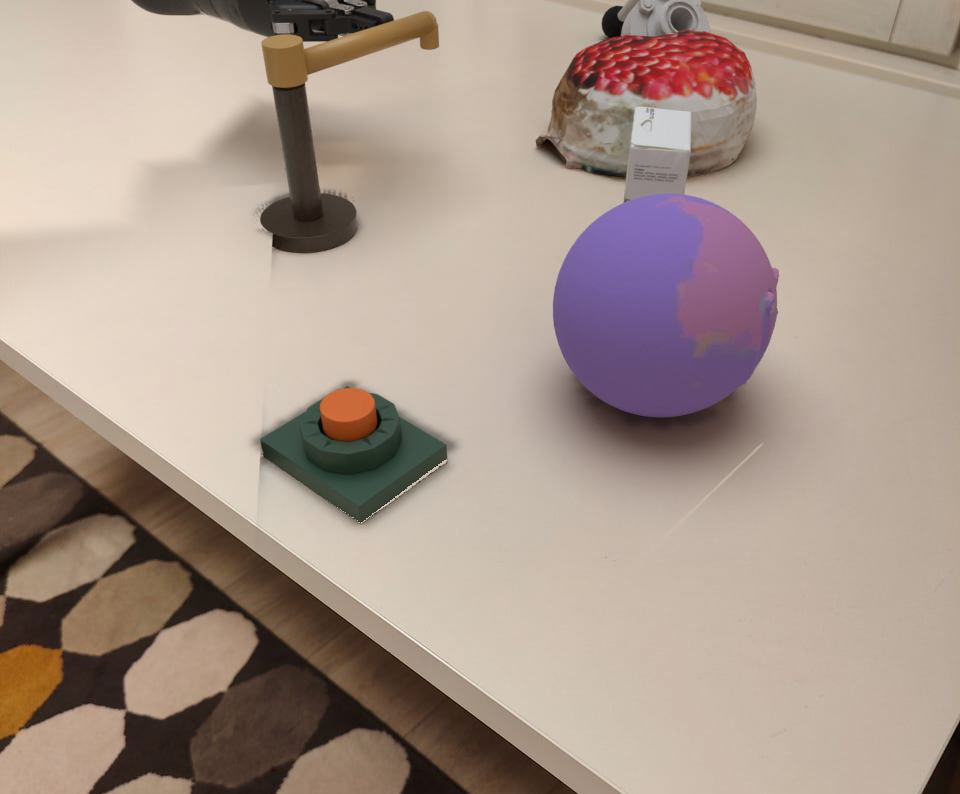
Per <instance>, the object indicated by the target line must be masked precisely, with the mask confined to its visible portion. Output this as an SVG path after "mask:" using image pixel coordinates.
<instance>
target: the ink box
mask: <svg viewBox="0 0 960 794" xmlns="http://www.w3.org/2000/svg"><path fill="white" fill-rule="evenodd" d="M690 153H691V112H690V111H677V110H666V109H658V108H650V107H636V108H635V113H634V120H633V127H632V135H631V142H630V150H629V159H628V167H627V175H626V178H625V184H624V194H623V203H625V202H627V201H630V200H633V199H636V198H639V197H643V196H648V195H655V194H683V195H685V193H686V188H687V187H686V186H687V185H686V184H687V179H688V177H687V173H688V166H689V159H690Z"/></svg>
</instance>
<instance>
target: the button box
mask: <svg viewBox="0 0 960 794" xmlns="http://www.w3.org/2000/svg"><path fill="white" fill-rule="evenodd" d="M345 388H351V386H349V385H347V386H345V387H343V388H342V389H345ZM368 393H369V394H371V395H372V397H373V398H374V400H375V407H376V416H377V426H376V428H375V430H374V431H373V432H372V433H371V434H370V435H369V436H367V437H365V438H363V439H360V440H355V441H350V442H344V441H337V440H334V439H332V438H330V437H329V436H327V435H326V433H325V432H324V430H323V425H322V419H321V413H320V404H321V402H322V400H323V399H324V398H325V397H322V399H321V398H320V399H319V400H318V401H316V402H315V403H313V404H311V405H310V406H309V407H307V409H306V410H305V411H303V412H302V413H300V414H299V415H297V416H296V417H294V418H293V419H290V420H289V421H287V422H285V423H283V424H282V425H280V426H279V427H277V428H276V429H274V430H273V431H271V432H269V433H268V434H266V435H264V436H262V437H261V438H260V439H259V442H260V446H261V450H262V455H263V458H265V459H267V460H268V461H269V462H270V463H272V464H273V465H275V466H276V467H278V468H279V469H281V470H282V471H283V472H285V473H286V474H288V475H289V476H291V477H292V478H294V479H295V480H296V481H298V482H299V481H300V482H299V483H301V484H302V483H303V484H302V485H304V486H305V487H306V486H307V487H306V488H308V489H309V490H311V491H312V492H313V493H315V494H316V495H318V496H319V495H320V496H319V497H320V498H322V497H323V498H322V499H323V500H325V501H327V500H328V501H327V502H328V503H329V502H330V505H332V504H333V505H332V506H334V507H335V506H336V507H335V508H337V507H338V508H339V509H341V510H342V511H344V512H346V513H347V514H349V517H350V516H351V517H354V519H356V520H358V522H360V523H361V522H363V521H364V520H366V518H368V517H369V516H371V515H372V513H374V512H376V511H377V510H378V509H380V508H381V507H382V506H384V505H385V504H387V503H388V502H390V500H392V499H393V498H395V496H397V495H399V494H400V493H401V492H402V491H404V490H405V489H407V487H408V486H410V485H412V483H414V482H416V481H417V480H419V478H421V477H422V476H423V475H425V474H426V473H428V471H430V470H432V469H433V468H434V467H436V466H438V464H440V463H442V461H444V460H446V459H447V460H448V449H447V448H448V445H447V444H446V443H445V442H443V441H441V440H440V439H438V438H437V437H435V436H434V435H431V434H430V433H428V432H426V431H425V430H423V429H421V428H419V427H418V426H416V425H415V424H413V423H411V422H410V421H408V420H406V419H404V418H403V417H401V416H400V414H399V412H398V410H397V407H396V405H395V404H394V403H393V402H392V401H390V400H388V399H386V398H385V397H383V396H382V395H380V394H378V393H374V392H368ZM338 508H337V509H338ZM339 509H338V510H339ZM341 510H340V511H341ZM342 511H341V512H342ZM344 512H343V513H344ZM347 514H346V515H347ZM351 517H350V518H351ZM354 519H353V520H354ZM358 522H357V523H358ZM360 523H359V524H360Z"/></svg>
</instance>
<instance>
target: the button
mask: <svg viewBox="0 0 960 794" xmlns="http://www.w3.org/2000/svg"><path fill="white" fill-rule="evenodd" d="M344 388H345V387H344ZM369 393H370V392H368V391H366V390H364V389H361V388H357V387H350V388H345V389H343V388H340V389H337V390H333V391H332V392H330V393H328V394H327V395H326V396H324V397H323V398H324V399H323V398H322V399H323V400H322V402H321V404H320V413H321V419H322V425H323V430H324V432H325V433H326V435H327V436H329V437H330V438H332V439H334V440H337V441H344V442H350V441H355V440H360V439H363V438H365V437H367V436H369V435H370V434H371V433H372V432H373V431H374V430H375V428H376V426H377V416H376V407H375V400H374V398H373V397H372V395H371V394H369Z"/></svg>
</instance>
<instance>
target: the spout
mask: <svg viewBox="0 0 960 794" xmlns="http://www.w3.org/2000/svg"><path fill="white" fill-rule="evenodd" d="M417 39H419V48H420V49H421V50H425V51H427V50H428V51H432V50H436V49H438V48H440V33H439V24H438V22H437V18H436V16H435V14H434V13H433V12H431V11H429V10H423V11H419V12H415V13H413V14H410V15H407V16H404V17H401V18H397V19H394V21H391V22H388V23H384V24H381V25H378V26H375V27H372V28H369V29H365V30H362V31H359V32H356V33H353V34H350V35H346V36H340V37H338V38H337V39H334V40H331V41H327V42H321V43H318V44H315V45H311V46H308V47H306V48H305V47H304V46H305V45H304V42H303V40H302V38H301V37H299V36H296V35H275V36H271V37H266V38H264V39H263V40H262V41H261V51H262V55H263V61H264V68H265V74H266V81H267V83H268V85H270V86H271V87H272V86H274V87H280V88H288V87H295V86H299V85H302V84H304V83H305V84H306V83H307V82H308V80H309V75H312V74H315V73H318V72H321V71H324V70H328V69H331V68H333V67H336V66H339V65H342V64H345V63H348V62H351V61H354V60H357V59H360V58H363V57H365V56H369V55H371V54H376V53H378V52H381V51H383V50H387V49H390V48H393V47H396V46H399V45H402V44H405V43H407V42H411V41H413V40H417Z"/></svg>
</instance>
